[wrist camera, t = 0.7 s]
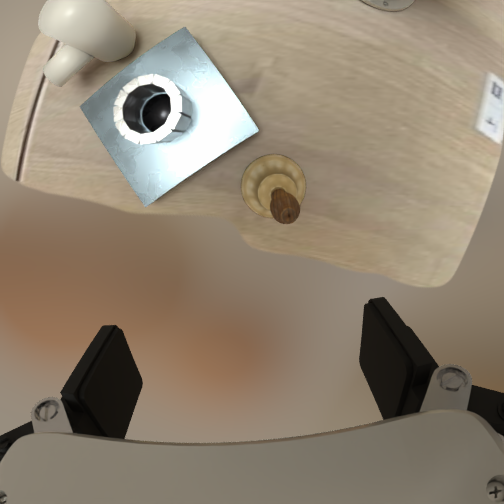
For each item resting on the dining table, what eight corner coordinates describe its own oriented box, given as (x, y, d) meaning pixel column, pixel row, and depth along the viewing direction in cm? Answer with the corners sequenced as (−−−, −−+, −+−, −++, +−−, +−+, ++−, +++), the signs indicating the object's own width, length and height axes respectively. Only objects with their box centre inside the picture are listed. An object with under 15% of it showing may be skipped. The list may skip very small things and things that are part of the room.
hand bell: (275, 230, 41) (293, 283, 26) (227, 189, 39) (216, 219, 24) (318, 184, 39) (362, 211, 24) (271, 140, 37) (289, 139, 22)
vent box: (190, 36, 32) (174, 7, 22) (257, 132, 36) (262, 128, 27) (93, 108, 34) (54, 103, 25) (154, 201, 39) (128, 219, 30)
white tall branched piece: (130, 20, 30) (78, -28, 15) (150, 47, 32) (100, 3, 17) (71, 69, 32) (0, 48, 17) (88, 97, 34) (16, 84, 19)
